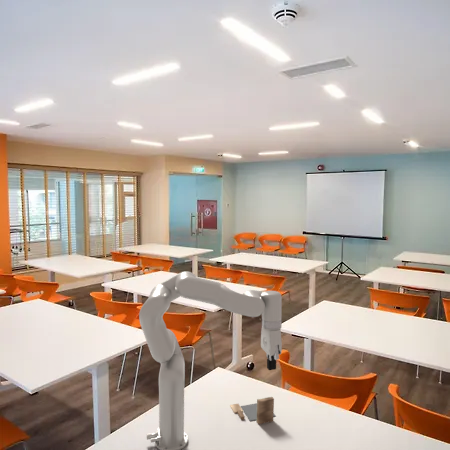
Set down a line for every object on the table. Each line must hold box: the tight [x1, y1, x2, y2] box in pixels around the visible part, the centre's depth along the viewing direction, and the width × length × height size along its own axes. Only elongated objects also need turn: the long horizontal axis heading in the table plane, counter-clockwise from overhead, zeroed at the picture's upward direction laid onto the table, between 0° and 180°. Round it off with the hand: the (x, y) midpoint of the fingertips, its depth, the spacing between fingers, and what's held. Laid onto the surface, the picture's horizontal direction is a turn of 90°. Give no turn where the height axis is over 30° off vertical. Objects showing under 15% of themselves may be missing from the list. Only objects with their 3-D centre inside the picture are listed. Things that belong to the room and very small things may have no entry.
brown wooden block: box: [255, 396, 275, 425], centre depth 153 cm, size 7×2×10 cm, turn 108°
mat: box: [240, 402, 276, 422], centre depth 160 cm, size 12×11×1 cm
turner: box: [229, 403, 246, 421], centre depth 159 cm, size 4×11×1 cm, turn 18°
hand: (271, 368), depth 141 cm, fingers closed
